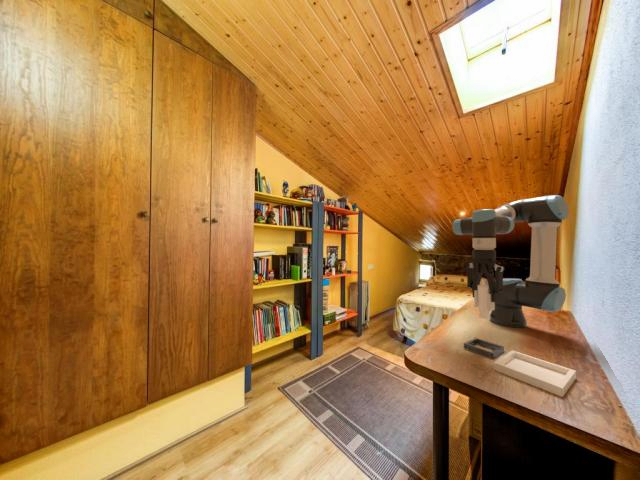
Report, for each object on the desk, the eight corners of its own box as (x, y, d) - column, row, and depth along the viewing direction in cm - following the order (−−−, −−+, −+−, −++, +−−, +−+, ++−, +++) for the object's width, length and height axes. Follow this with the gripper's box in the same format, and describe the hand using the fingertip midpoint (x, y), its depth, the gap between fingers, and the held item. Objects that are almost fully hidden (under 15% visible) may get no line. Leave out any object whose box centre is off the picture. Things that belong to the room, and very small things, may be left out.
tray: (512, 356, 85) (512, 350, 85) (575, 378, 72) (575, 370, 72) (493, 369, 76) (493, 362, 76) (562, 397, 63) (562, 388, 63)
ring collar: (475, 342, 97) (475, 337, 97) (504, 351, 89) (504, 346, 89) (463, 348, 92) (463, 343, 92) (493, 359, 83) (493, 353, 83)
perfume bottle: (493, 320, 87) (493, 280, 87) (479, 318, 89) (479, 280, 89) (489, 316, 91) (489, 278, 91) (476, 315, 93) (476, 278, 93)
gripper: (456, 248, 97) (456, 303, 97) (502, 250, 81) (502, 316, 81) (468, 248, 100) (469, 301, 100) (515, 249, 83) (516, 313, 83)
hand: (484, 308), depth 90 cm, fingers closed on perfume bottle, 4 cm apart
